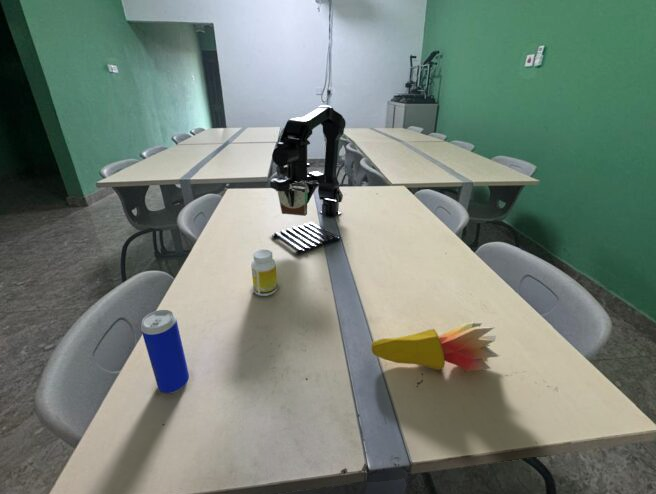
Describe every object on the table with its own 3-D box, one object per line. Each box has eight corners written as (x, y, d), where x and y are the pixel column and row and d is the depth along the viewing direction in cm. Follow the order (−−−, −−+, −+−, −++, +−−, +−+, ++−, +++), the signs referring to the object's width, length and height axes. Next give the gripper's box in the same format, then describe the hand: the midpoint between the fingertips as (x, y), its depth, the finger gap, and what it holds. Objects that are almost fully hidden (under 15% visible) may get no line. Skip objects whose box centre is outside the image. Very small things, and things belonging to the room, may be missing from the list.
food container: (317, 211, 111) (315, 183, 108) (308, 216, 106) (306, 187, 103) (287, 208, 117) (285, 181, 113) (278, 213, 111) (275, 185, 108)
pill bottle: (281, 285, 86) (279, 250, 82) (269, 299, 81) (267, 262, 76) (261, 281, 88) (258, 246, 83) (249, 293, 83) (245, 257, 78)
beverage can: (165, 371, 60) (148, 308, 54) (193, 370, 61) (179, 307, 54) (153, 396, 55) (133, 330, 49) (183, 394, 56) (167, 329, 50)
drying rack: (312, 224, 123) (312, 221, 123) (339, 240, 112) (339, 236, 112) (272, 237, 112) (272, 233, 112) (297, 255, 101) (297, 251, 101)
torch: (372, 368, 67) (491, 357, 66) (376, 385, 59) (511, 373, 58) (368, 329, 67) (486, 317, 67) (371, 340, 59) (505, 327, 59)
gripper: (308, 152, 114) (308, 193, 121) (260, 158, 103) (263, 203, 110) (326, 158, 106) (326, 202, 113) (278, 165, 95) (280, 213, 102)
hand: (299, 204), depth 109 cm, fingers closed on food container, 6 cm apart
